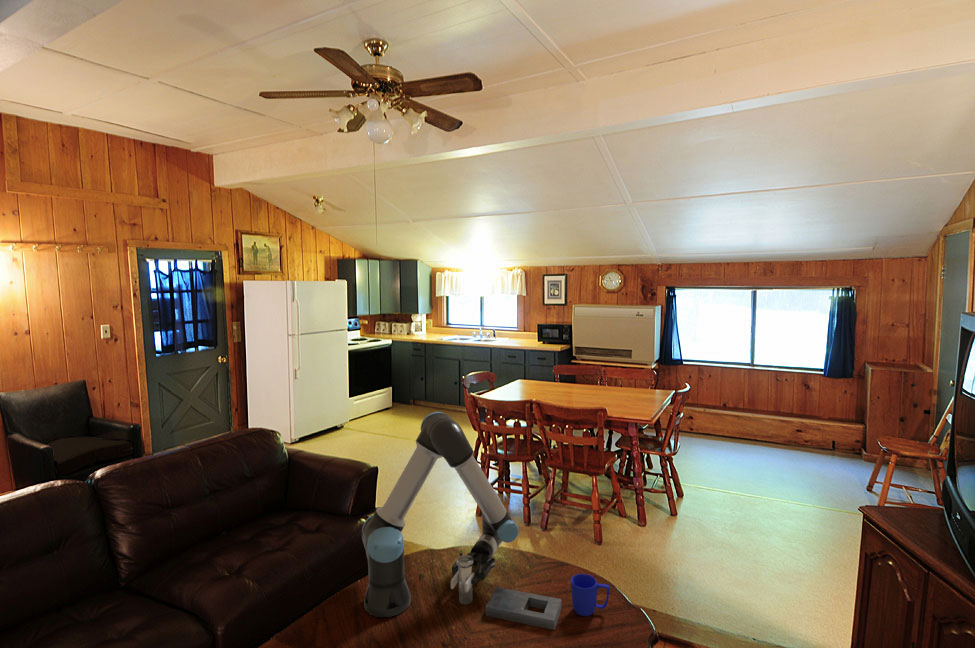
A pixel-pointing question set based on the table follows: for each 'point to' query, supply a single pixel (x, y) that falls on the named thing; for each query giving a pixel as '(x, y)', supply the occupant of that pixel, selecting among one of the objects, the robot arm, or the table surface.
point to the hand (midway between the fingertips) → (459, 586)
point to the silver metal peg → (464, 578)
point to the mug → (586, 594)
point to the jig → (524, 608)
